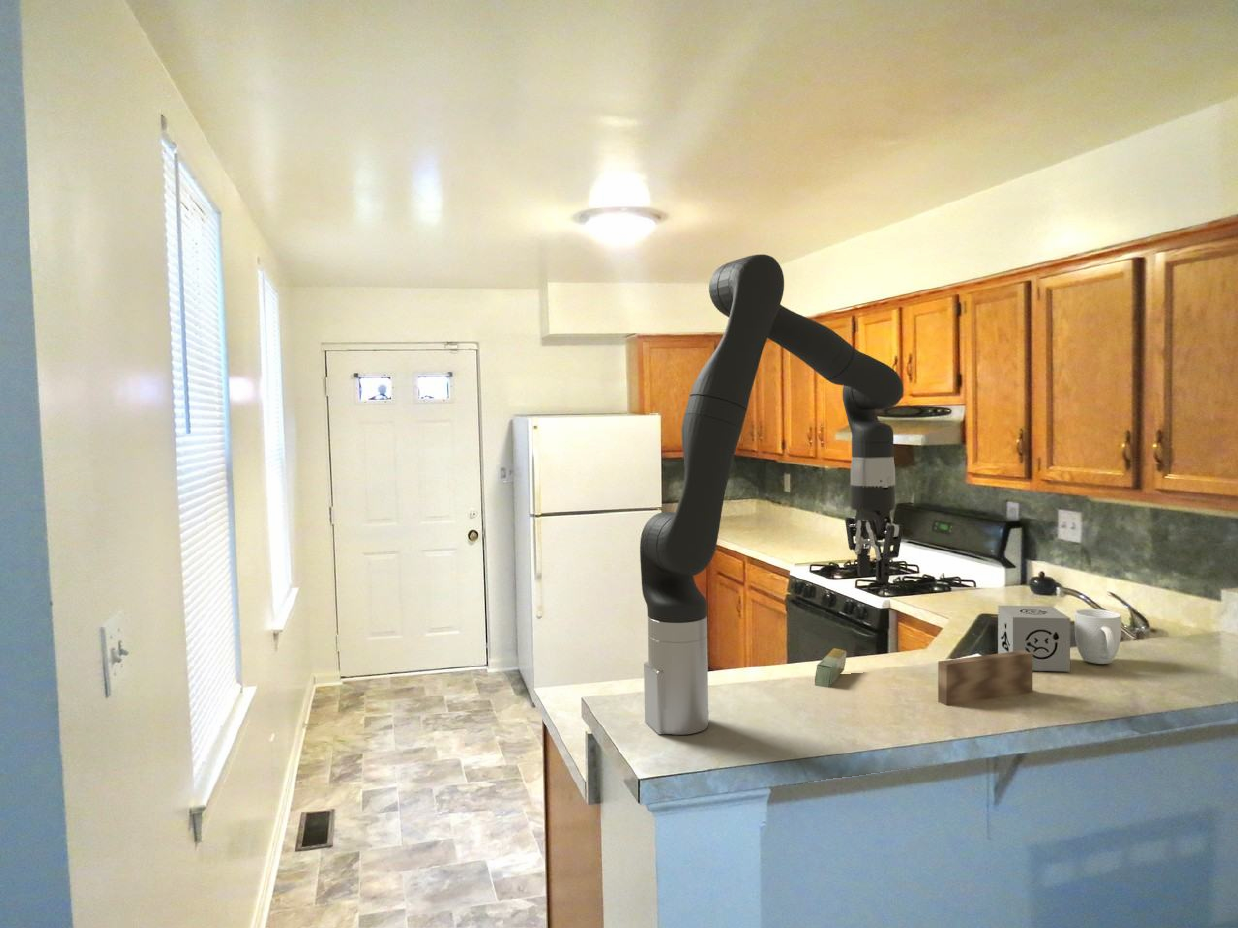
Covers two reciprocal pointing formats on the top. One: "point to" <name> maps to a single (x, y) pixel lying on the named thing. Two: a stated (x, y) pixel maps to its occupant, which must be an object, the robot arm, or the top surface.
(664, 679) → the robot arm
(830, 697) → the top surface
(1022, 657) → the walnut screen
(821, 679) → the medication box
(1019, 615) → the icon cube
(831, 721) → the top surface
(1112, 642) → the mug
